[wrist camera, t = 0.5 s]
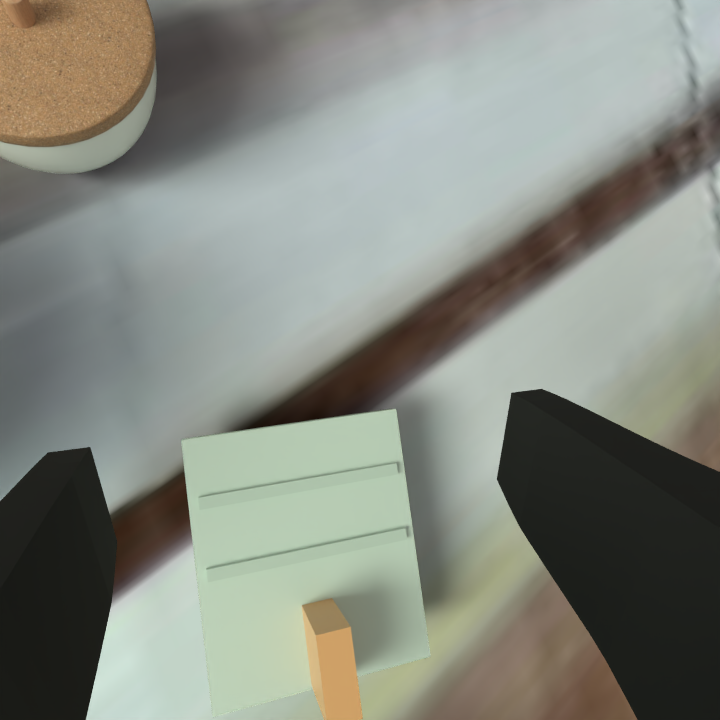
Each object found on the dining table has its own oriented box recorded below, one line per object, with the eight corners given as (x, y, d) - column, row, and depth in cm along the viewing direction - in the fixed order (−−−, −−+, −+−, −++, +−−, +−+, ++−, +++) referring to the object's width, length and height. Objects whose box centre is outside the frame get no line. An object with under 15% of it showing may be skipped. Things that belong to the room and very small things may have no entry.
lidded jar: (71, -10, 32) (16, -176, 23) (206, 127, 33) (203, 20, 24) (-87, 97, 29) (-218, -43, 20) (66, 241, 31) (6, 169, 22)
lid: (419, 644, 31) (463, 692, 26) (212, 700, 28) (212, 769, 23) (387, 409, 32) (422, 408, 26) (182, 438, 29) (176, 444, 23)
